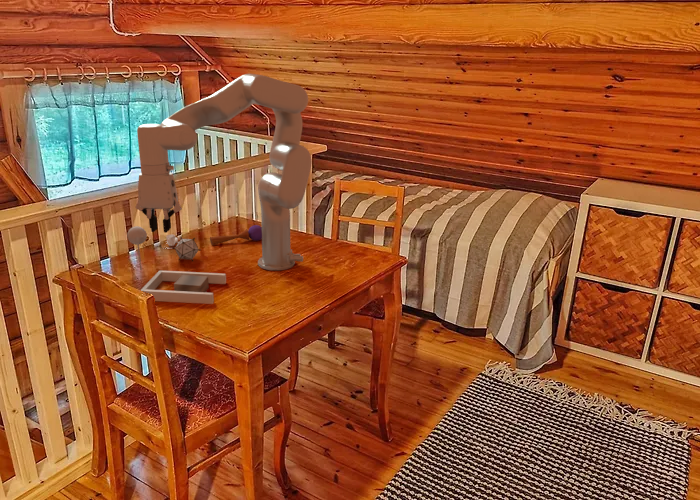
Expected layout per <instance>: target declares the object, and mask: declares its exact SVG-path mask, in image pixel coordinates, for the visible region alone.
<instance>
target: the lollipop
mask: <svg viewBox="0 0 700 500" xmlns="http://www.w3.org/2000/svg"><path fill="white" fill-rule="evenodd" d="M126 235H127V236H126V238H127V240H128V241H129V242H130V243H131V244H133V245H136V246H137V253H138V261H139V270H140V271H142V269H143V268H142V262H141V253H140V245H141V244H143V243H145V241H146V240H147V237H148V233H147V231H146V230H145V228H143V227H142V226H138V225H136V226H133V227H131V228H129V229H128V232H127V234H126Z"/></svg>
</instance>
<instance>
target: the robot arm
mask: <svg viewBox="0 0 700 500" xmlns="http://www.w3.org/2000/svg"><path fill="white" fill-rule="evenodd" d="M308 103H309V96H308V93H307V91H306V89H304V88H303V86H301V85H299V84H294V83H291V82H289V81H288V82H287V81H283V80H280V79H277V78H274V77H271V76H266V75H263V74H256V73H245V74H242V75H241V76H238V77H237V78H235V79H234V80H233V81H231V82H230V83H228V84H226V85H225V86H224V87H222V88H221V89H219V90H217V91H215V92H214V93H213V94H211V95H209V96H208V97H204V98H201V100H198V101H196V102H194V103H193V102H192V103H191V104H188V105H186V106H184V107H183V108H181V109H179V110H177V111H176V112H174V113H172V115H169V116H167V118H165V119H164V120H163V121H162V122H161V123H160V124H159V123H143V124H141V125H139V126H138V127H137V130H136V131H137V142H138V153H139V154H138V155H139V163H140V173H139V175H138V180H137V181H138V182H137V185H138V186H137V194H138V196H137V198H138V200H137V203H136V205H135V210H138V211H140V212H142V214H144V215H145V216H146V218H147V219H148V225H149V228H150V231H151V233H154V232H156V231H157V230H158V220H157V219H158V217H157V215H156V214H155V213H156V212H155V210H162V211H163V219H162V227H163V232H164V233H168V232H169V231H170V230H171V228H172V223H171V217H172V216H173V215H174V214H177V213H178V212H180V211H181V210H183V209H182V206H181V204H180V203H179V198H178V191H177V186H176V181H175V178H174V173H173V172H171V171H174V169H175V166H174V165H171V164H170V162H169V154H168V153H169V151H188V150H191V149H192V148H193V147H194V146H196V144H197V141H198V134H197V132H196V131H197V130H199V129H201V128H204V127H207V126H212V125H220V124H223V123H226V122H229V121H230V120H232V119H233V118H235V117H236V116H238V115H239V114H240V113H242V112H244V111H245V110H246V109H248V108H249V107H251V106H252V105H256V106H257V105H259V106H262V107H266V108H269V109H272V111H273V114H274V117H275V128H274V133H273V137H272V143H271V147H270V151H269V156H268V159H269V163H270V165H272V166H273V167H274V168H276V169H278V170H279V171H282V173H279V172H267V173H265V174H264V175H263V176H262V177H261V178H260V180H259V181H258V186H257V191H258V192H257V193H258V199H259V203H260V213H261V214H260V215H261V221H260V223H261V227H262V239H261V251H262V252H261V253H262V256H261V257H259V259H258V260H257V265H258V266H259V268H261V269H264V270H267V271H283V270H288V269H291V268H293V267H294V266H295V264H296V262H303V261H304V256H303V255H301V253H294V252H293V249H291V212H290V210H293V209H295V208H297V207H298V206H299V205H300V204H301V202H302V201H303V199H304V196H305V193H306V189H307V186H308V181H309V177H310V173H311V171H312V170H311V169H312V156H311V152H310V151H309V150H308V148H306V147H305V146H303V145H302V144H301V143H300V142H301V137H302V133H303V124H304V123H303V118H302V112H303V111H305V109H306V108H307V106H308ZM303 263H304V262H303Z"/></svg>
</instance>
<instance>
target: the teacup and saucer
mask: <svg viewBox="0 0 700 500" xmlns="http://www.w3.org/2000/svg"><path fill="white" fill-rule="evenodd" d="M166 242H167V243H166V244H167V245H168V247H166V248H167V250H174V249H173V248H175V247H176V243H177V244H178V243H179V239H178V237H176V235H175V234H173V233H171V234H170V233H169V234H167V235H166ZM174 246H175V247H174ZM166 248H165V250H166Z"/></svg>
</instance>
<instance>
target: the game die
mask: <svg viewBox="0 0 700 500" xmlns="http://www.w3.org/2000/svg"><path fill="white" fill-rule="evenodd" d="M195 239H196V237H194V238H192V239H191V238H190V239H189V238H183V237H182V236H180V240H178V242H179V243H177V245H176V244H175V248H174V247H172V248H173V249H172V250H175V253H176V254H177V256H178V258H179V259H178V261H181V260H189V261H191V262H194V257H195V256H196V255H197V253H198V252H199V251H201V249H200V248H199V247H198V246H197V243H196V241H195Z"/></svg>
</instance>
